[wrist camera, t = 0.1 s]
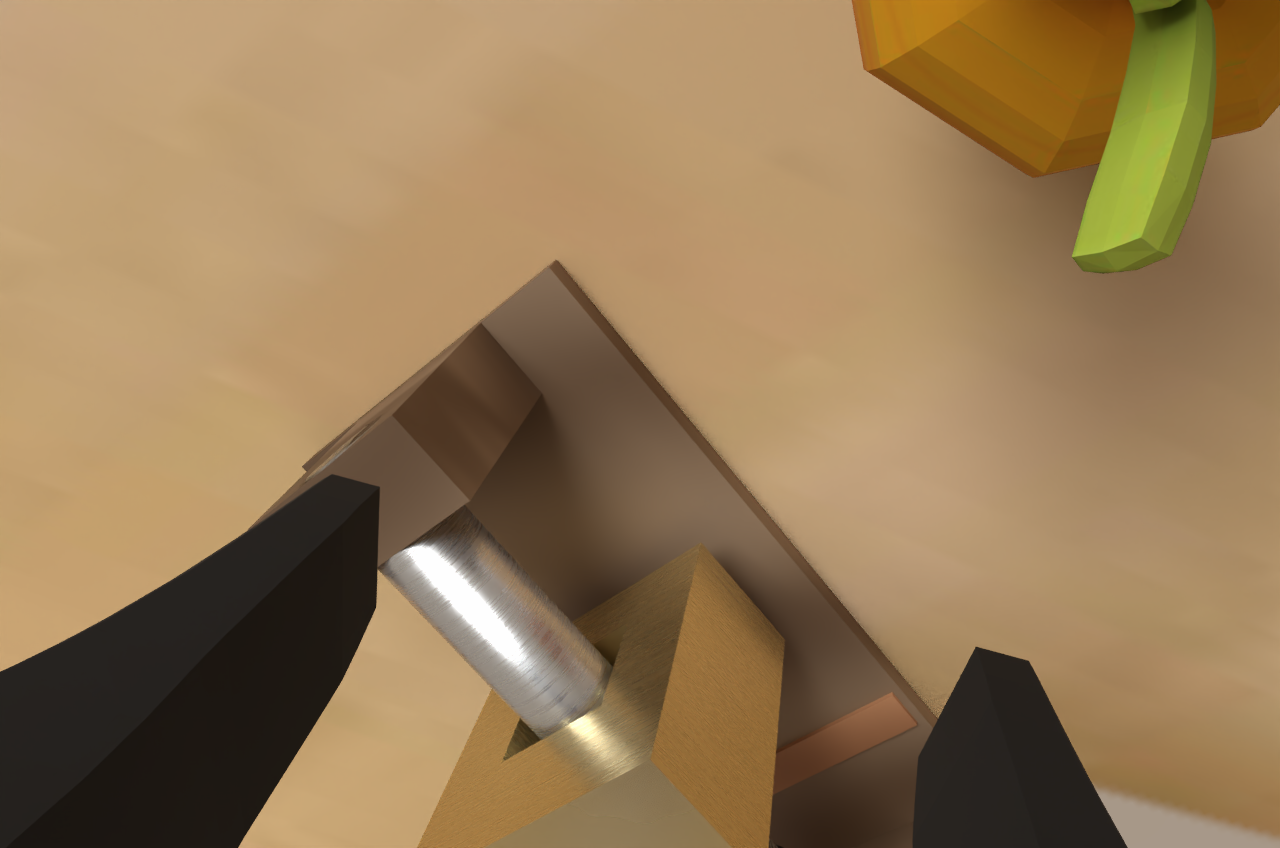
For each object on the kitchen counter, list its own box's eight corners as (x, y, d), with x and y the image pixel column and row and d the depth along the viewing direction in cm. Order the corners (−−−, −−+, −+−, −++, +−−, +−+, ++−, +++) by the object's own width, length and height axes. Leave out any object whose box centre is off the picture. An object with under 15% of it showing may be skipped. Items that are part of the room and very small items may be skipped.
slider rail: (1025, 825, 26) (1069, 1032, 21) (766, 934, 29) (751, 1137, 24) (556, 259, 22) (473, 349, 17) (313, 455, 25) (184, 580, 20)
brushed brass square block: (784, 639, 23) (765, 884, 17) (584, 749, 25) (505, 998, 19) (701, 541, 22) (650, 759, 16) (503, 664, 25) (395, 894, 19)
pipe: (935, 985, 24) (944, 1078, 22) (855, 1015, 25) (856, 1107, 23) (403, 396, 20) (355, 445, 18) (329, 455, 21) (275, 508, 19)
